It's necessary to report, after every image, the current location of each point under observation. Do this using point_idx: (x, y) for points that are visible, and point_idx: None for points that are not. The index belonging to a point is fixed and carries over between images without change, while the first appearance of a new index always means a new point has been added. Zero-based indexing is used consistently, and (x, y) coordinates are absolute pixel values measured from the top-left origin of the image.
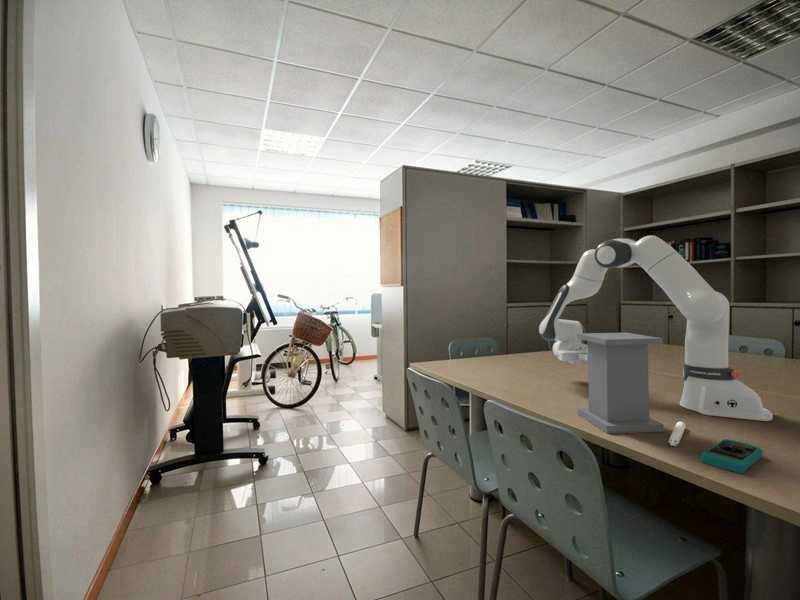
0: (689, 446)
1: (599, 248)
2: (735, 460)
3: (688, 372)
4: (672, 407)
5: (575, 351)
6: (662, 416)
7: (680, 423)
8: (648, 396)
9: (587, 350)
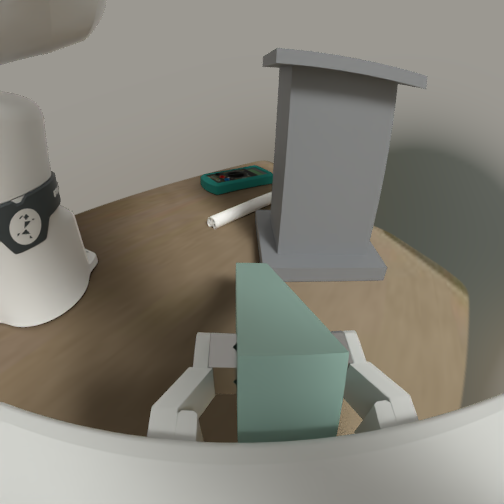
0: (256, 197)
1: None
2: (251, 170)
3: (51, 202)
4: (103, 303)
5: (451, 453)
6: (192, 263)
7: (220, 213)
8: (273, 174)
9: (340, 348)
